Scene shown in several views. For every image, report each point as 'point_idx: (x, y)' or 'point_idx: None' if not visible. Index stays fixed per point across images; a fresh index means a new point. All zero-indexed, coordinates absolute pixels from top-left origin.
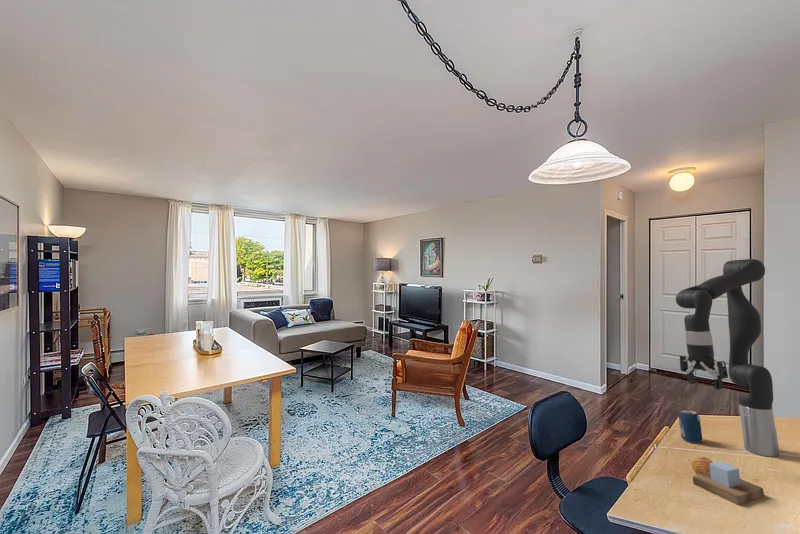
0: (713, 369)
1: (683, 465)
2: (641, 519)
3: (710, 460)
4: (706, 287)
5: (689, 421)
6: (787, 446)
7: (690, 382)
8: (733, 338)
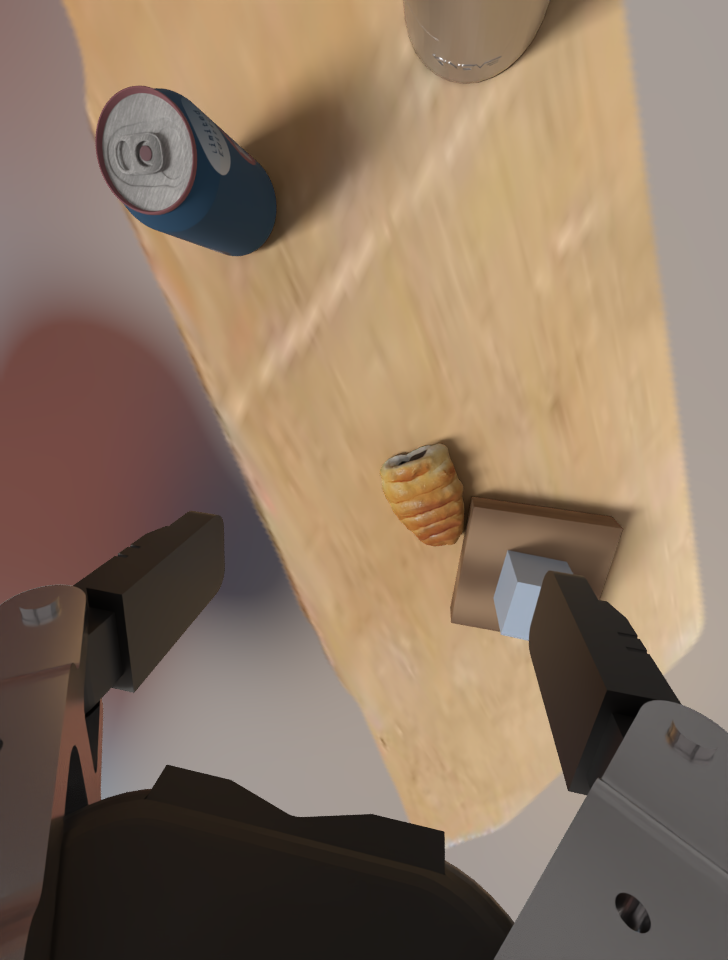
0: (593, 917)
1: (367, 507)
2: (463, 830)
3: (432, 464)
4: None
5: (208, 228)
6: None
7: (206, 599)
8: None
